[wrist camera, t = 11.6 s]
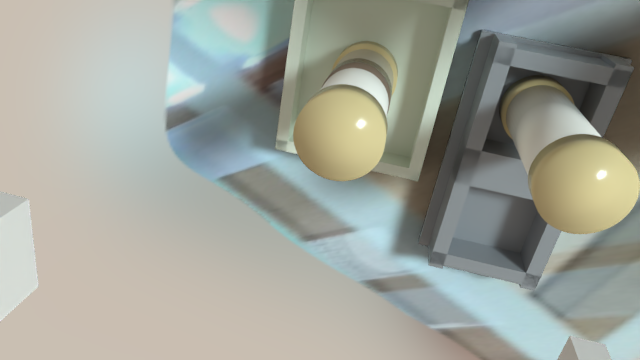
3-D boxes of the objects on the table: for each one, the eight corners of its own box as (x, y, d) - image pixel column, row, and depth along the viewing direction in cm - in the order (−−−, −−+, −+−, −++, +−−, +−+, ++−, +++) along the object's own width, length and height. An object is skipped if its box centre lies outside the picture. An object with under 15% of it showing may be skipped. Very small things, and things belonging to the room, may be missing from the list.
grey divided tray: (481, 29, 32) (486, 38, 30) (629, 58, 31) (648, 70, 29) (418, 240, 39) (417, 262, 37) (537, 268, 39) (545, 293, 36)
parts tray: (308, -39, 32) (299, -37, 30) (466, -9, 31) (470, -4, 29) (283, 136, 38) (274, 148, 36) (418, 166, 37) (417, 181, 35)
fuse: (511, 68, 32) (554, 137, 22) (579, 82, 32) (657, 159, 21) (490, 130, 34) (520, 221, 23) (554, 144, 34) (614, 243, 23)
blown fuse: (340, 35, 33) (300, 84, 22) (404, 47, 33) (394, 104, 22) (329, 96, 35) (287, 170, 24) (390, 109, 35) (374, 189, 24)
